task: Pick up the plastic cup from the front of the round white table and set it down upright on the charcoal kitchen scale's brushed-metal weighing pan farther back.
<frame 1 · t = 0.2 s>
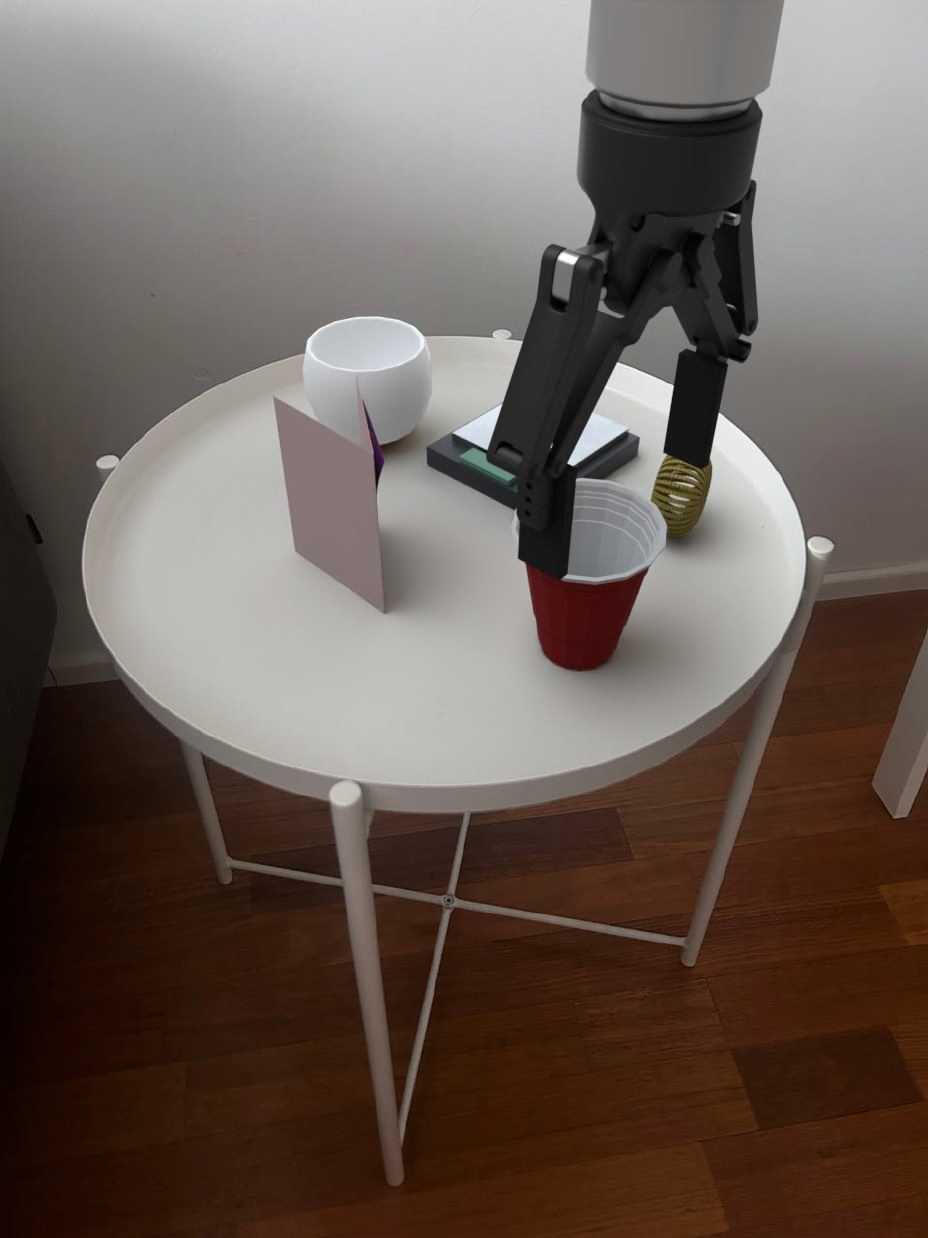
hand: (618, 509, 56), 21 cm above the table, tool pointing down, fingers open, 13 cm apart
plastic cup: (576, 648, 78), on the table
sculpture: (674, 530, 89), on the table
cup: (372, 433, 101), on the table
greeting card: (342, 574, 85), on the table
scale: (532, 459, 97), on the table
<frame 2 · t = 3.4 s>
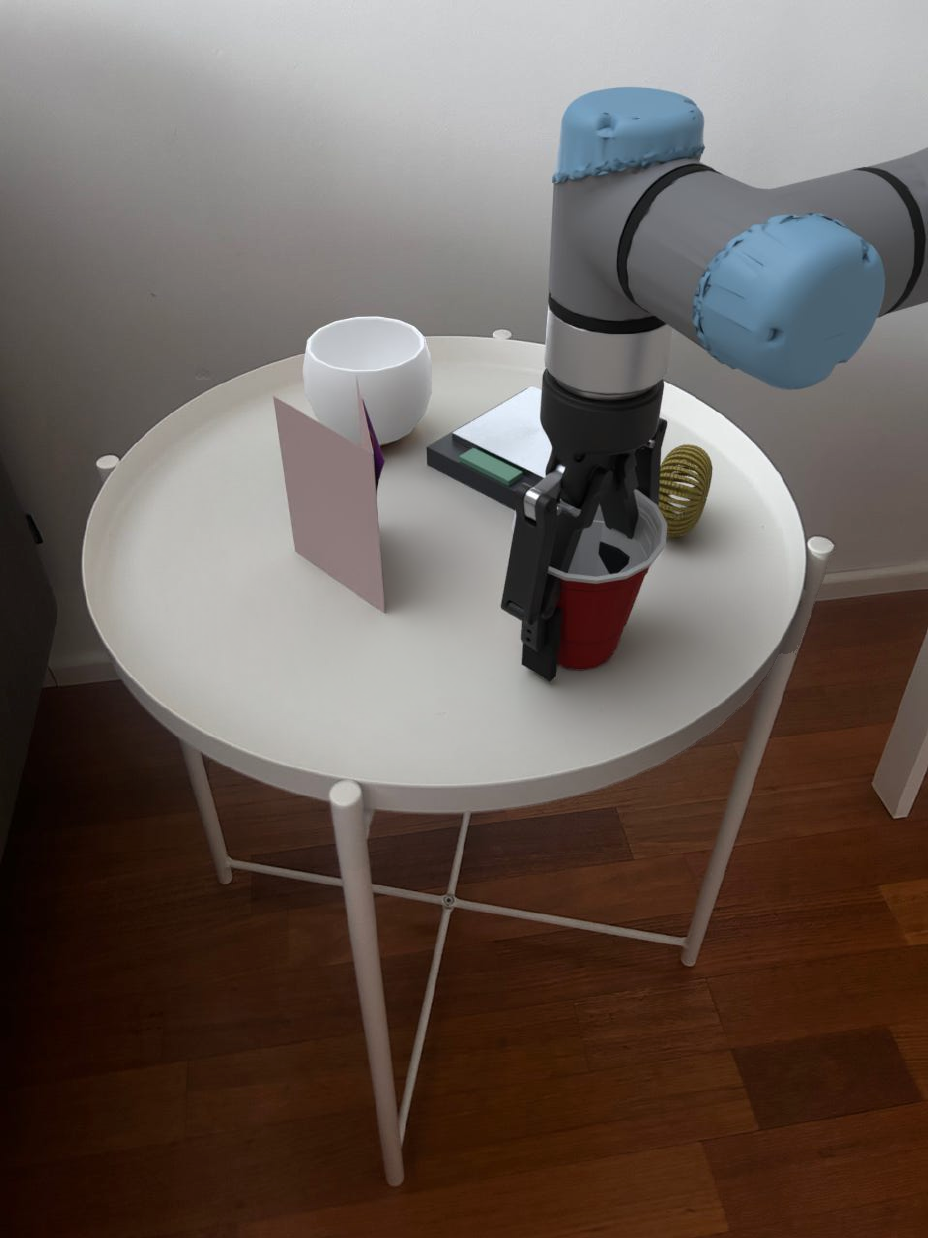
hand: (574, 640, 77), 1 cm above the table, tool pointing down, fingers closed on plastic cup, 8 cm apart
plastic cup: (576, 648, 78), on the table, touching gripper
everything else where it was.
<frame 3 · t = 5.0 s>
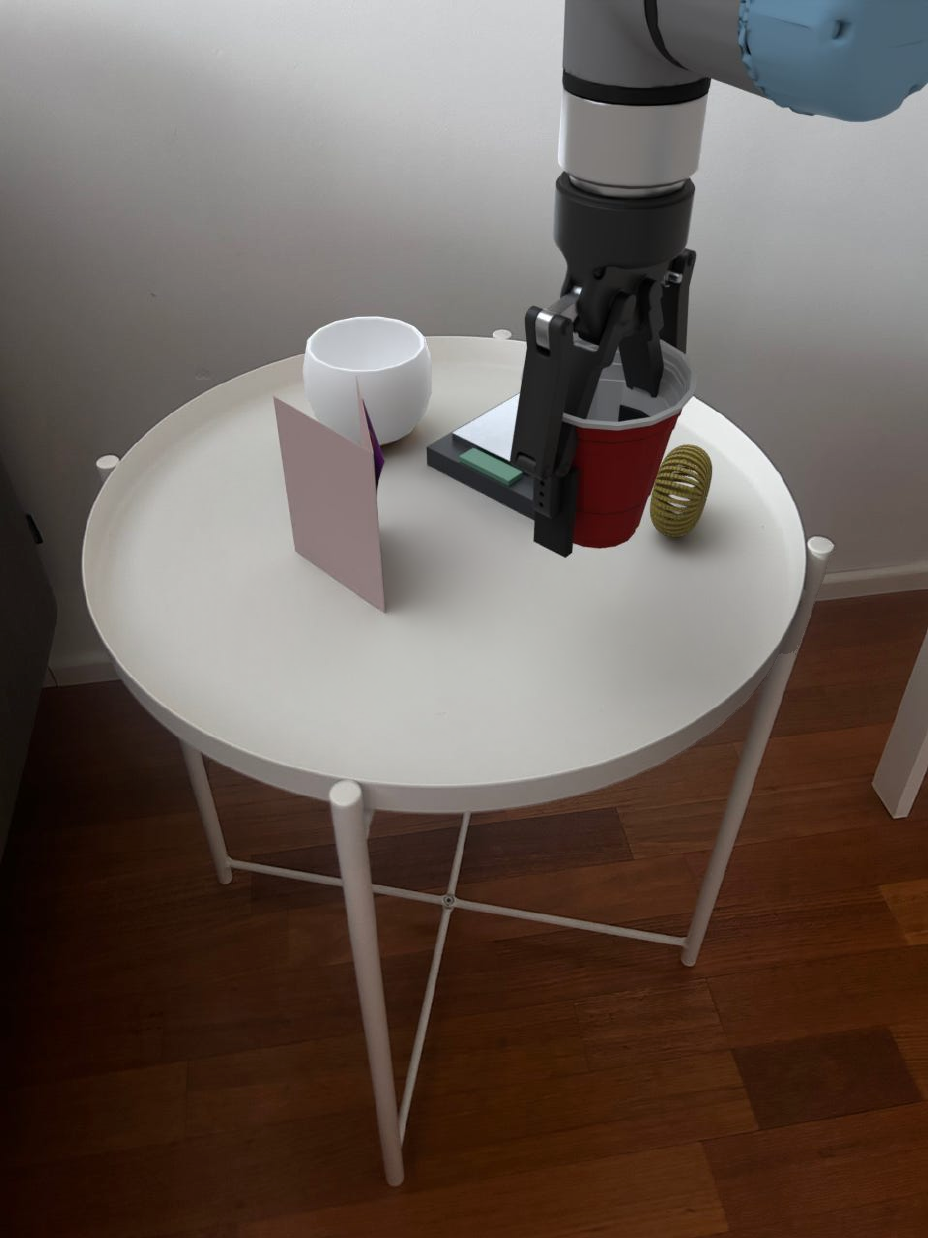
hand: (592, 517, 69), 13 cm above the table, tool pointing down, fingers closed on plastic cup, 8 cm apart
plastic cup: (594, 528, 70), point 11 cm above the table, touching gripper
everything else where it was.
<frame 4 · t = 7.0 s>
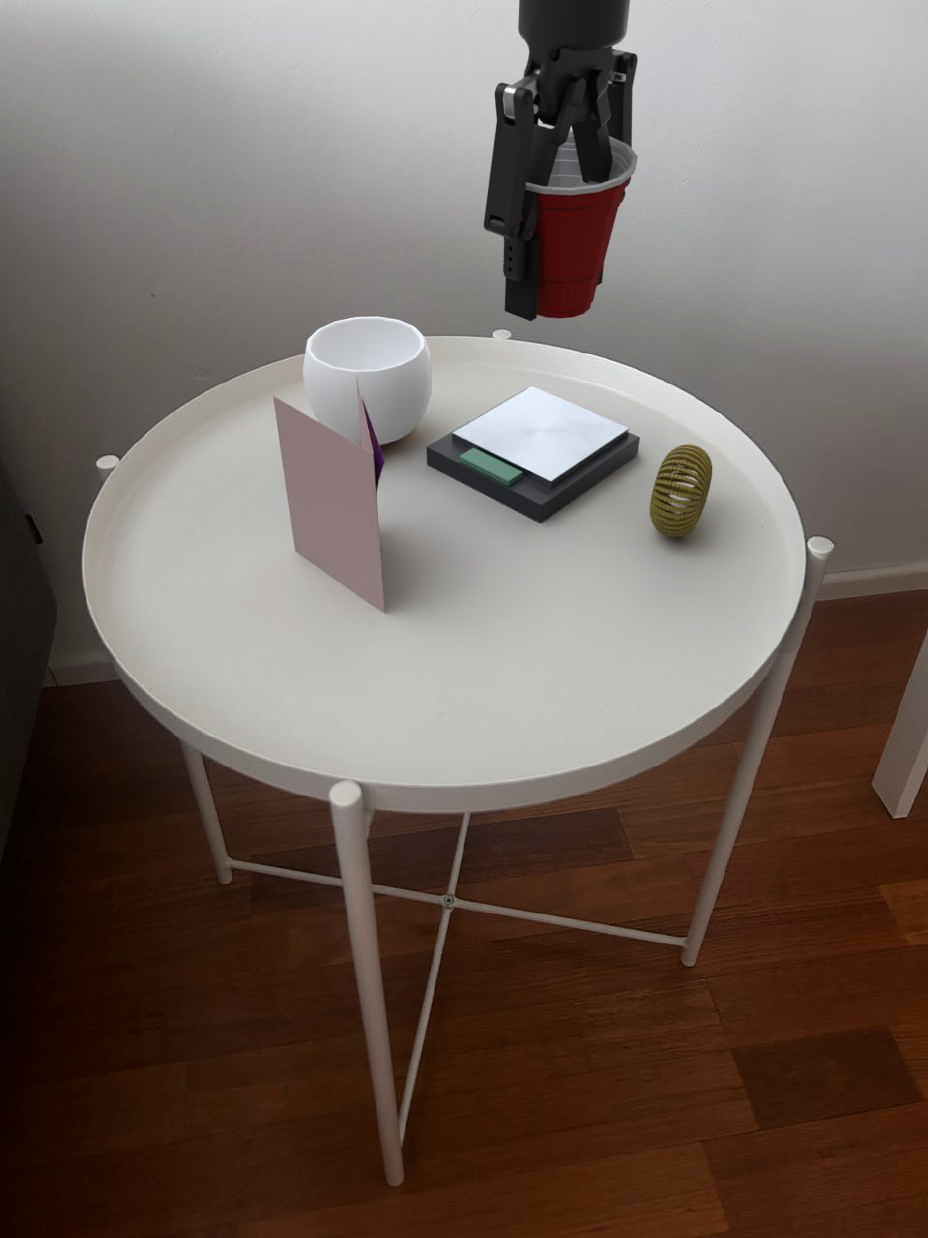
hand: (554, 296, 83), 18 cm above the table, tool pointing down, fingers closed on plastic cup, 8 cm apart
plastic cup: (555, 307, 84), point 17 cm above the table, touching gripper
everything else where it was.
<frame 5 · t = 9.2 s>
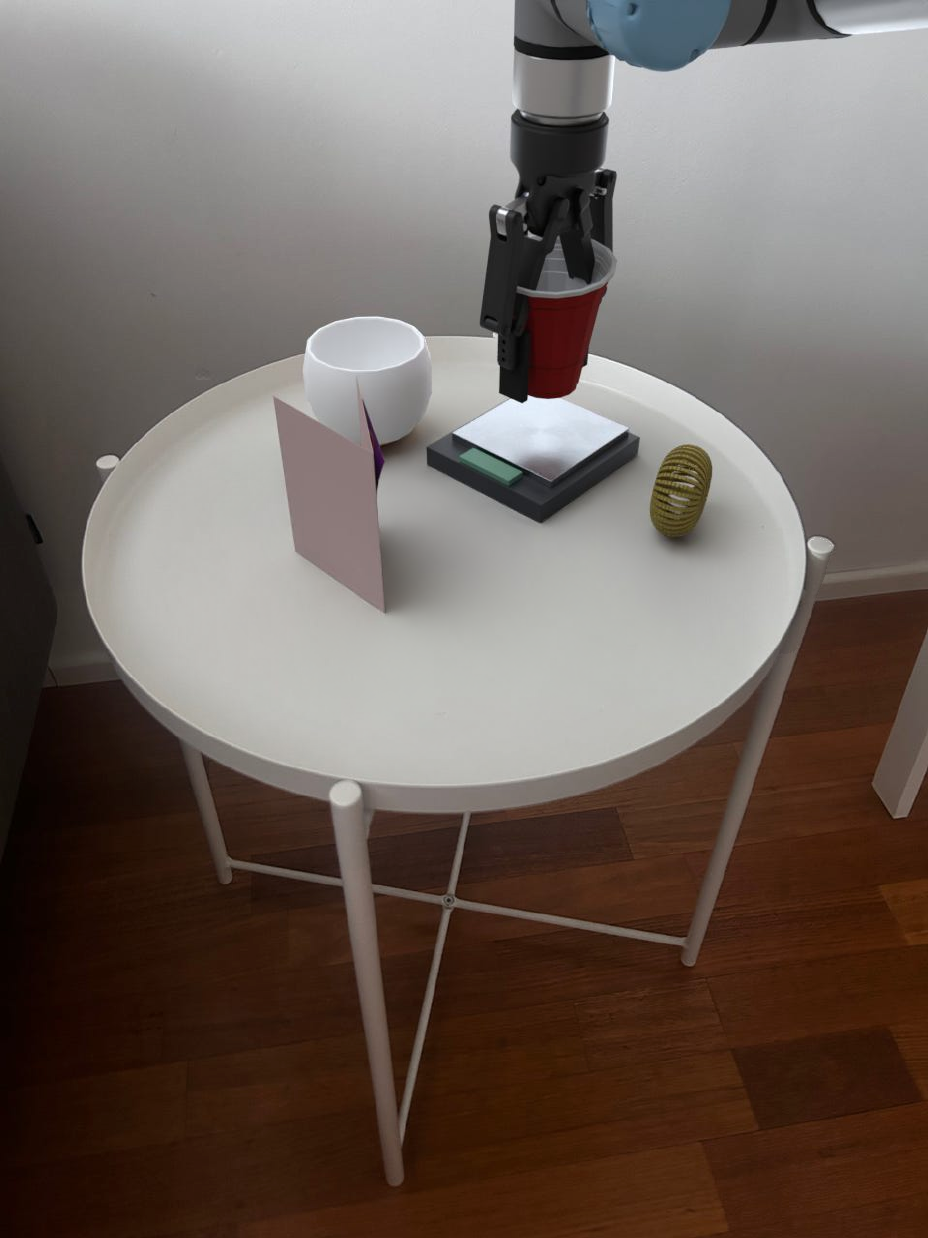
hand: (544, 378, 92), 8 cm above the table, tool pointing down, fingers closed on plastic cup, 8 cm apart
plastic cup: (545, 387, 93), point 7 cm above the table, touching gripper
everything else where it was.
when the fingers open (4 cm above the table, at t = 10.9 s): plastic cup stays where it is, resting on scale.
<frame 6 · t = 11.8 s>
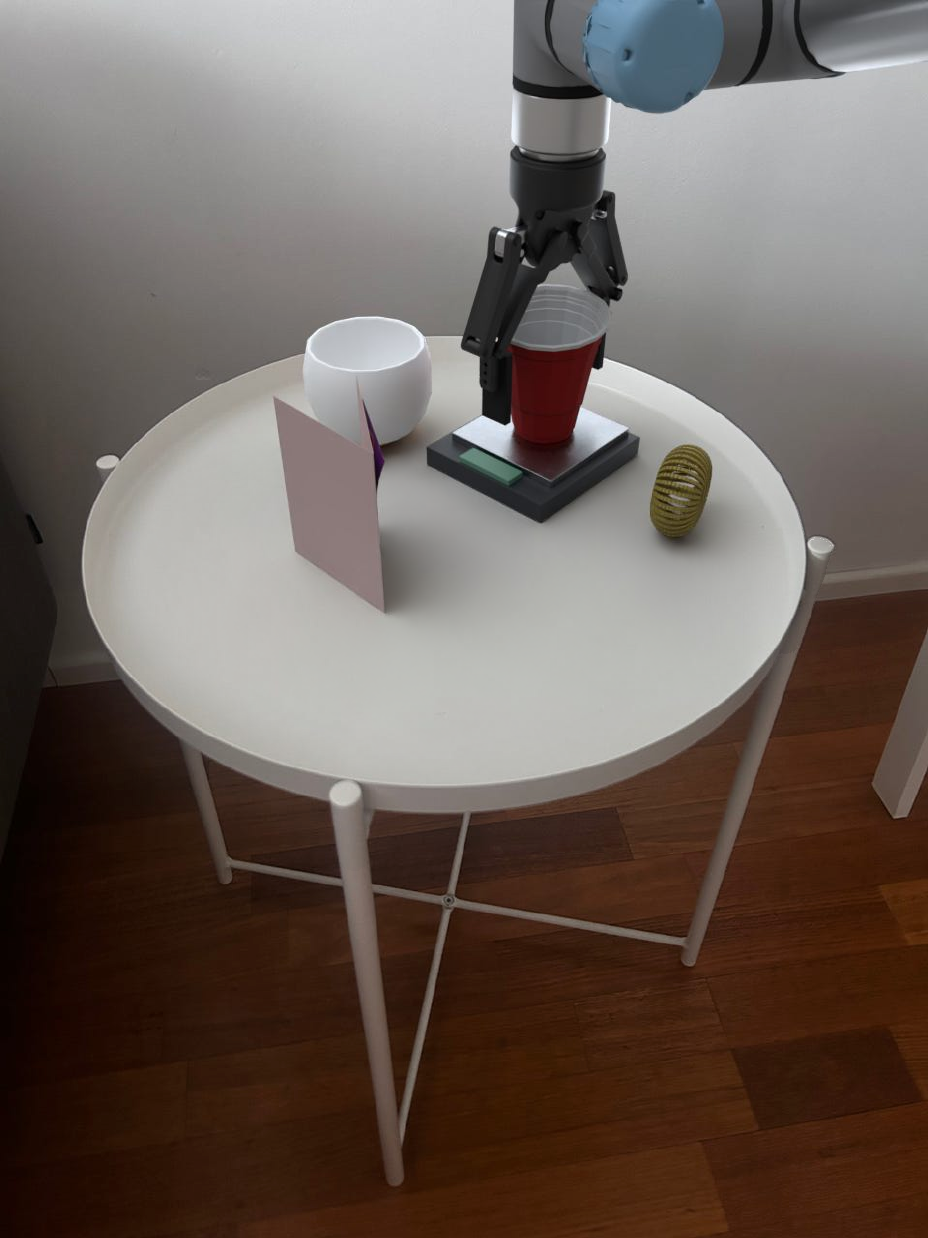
hand: (544, 390, 93), 7 cm above the table, tool pointing down, fingers open, 13 cm apart
plastic cup: (542, 431, 96), point 3 cm above the table, touching scale
everything else where it was.
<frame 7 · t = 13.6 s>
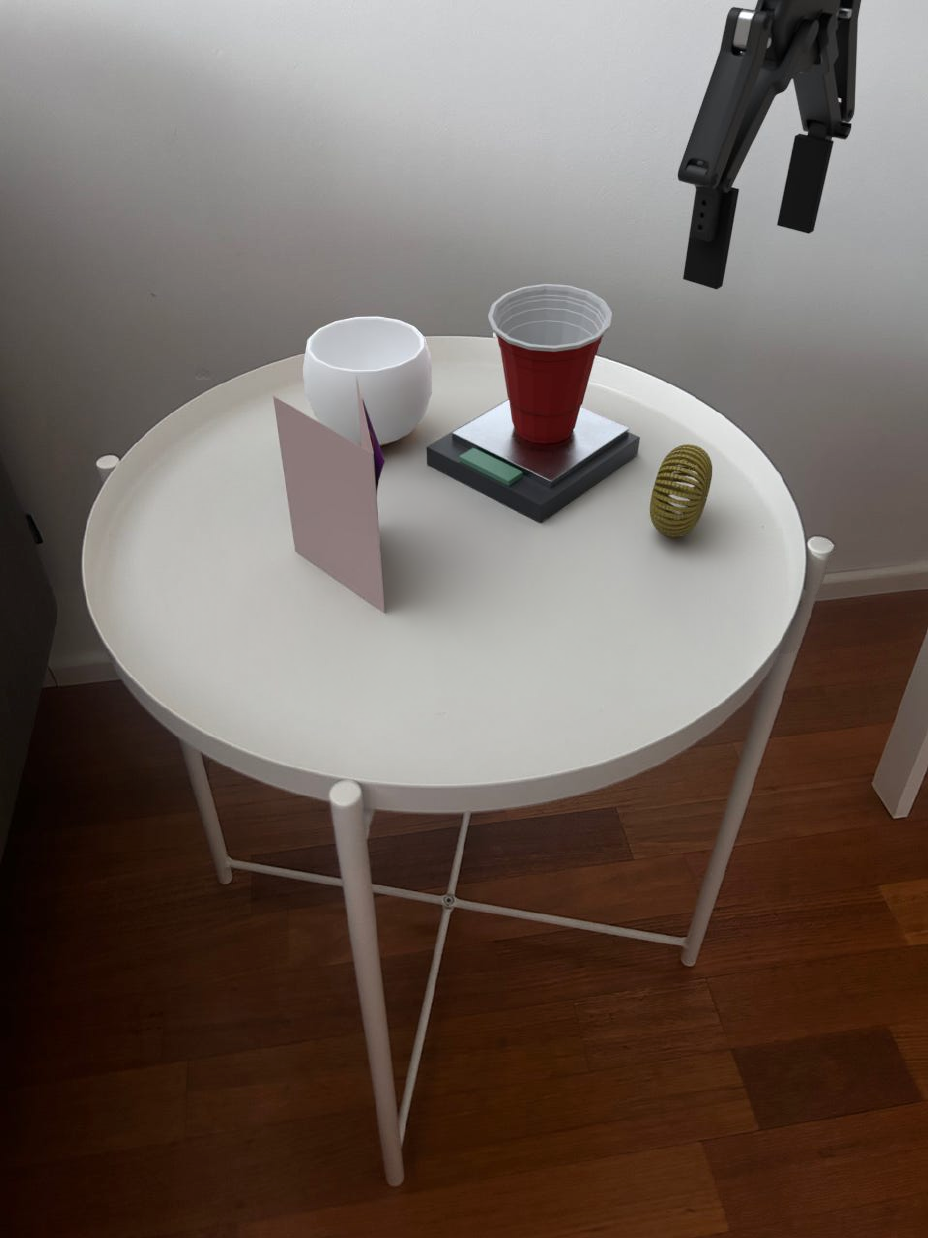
hand: (751, 254, 74), 24 cm above the table, tool pointing down, fingers open, 13 cm apart
nothing on the table moved.
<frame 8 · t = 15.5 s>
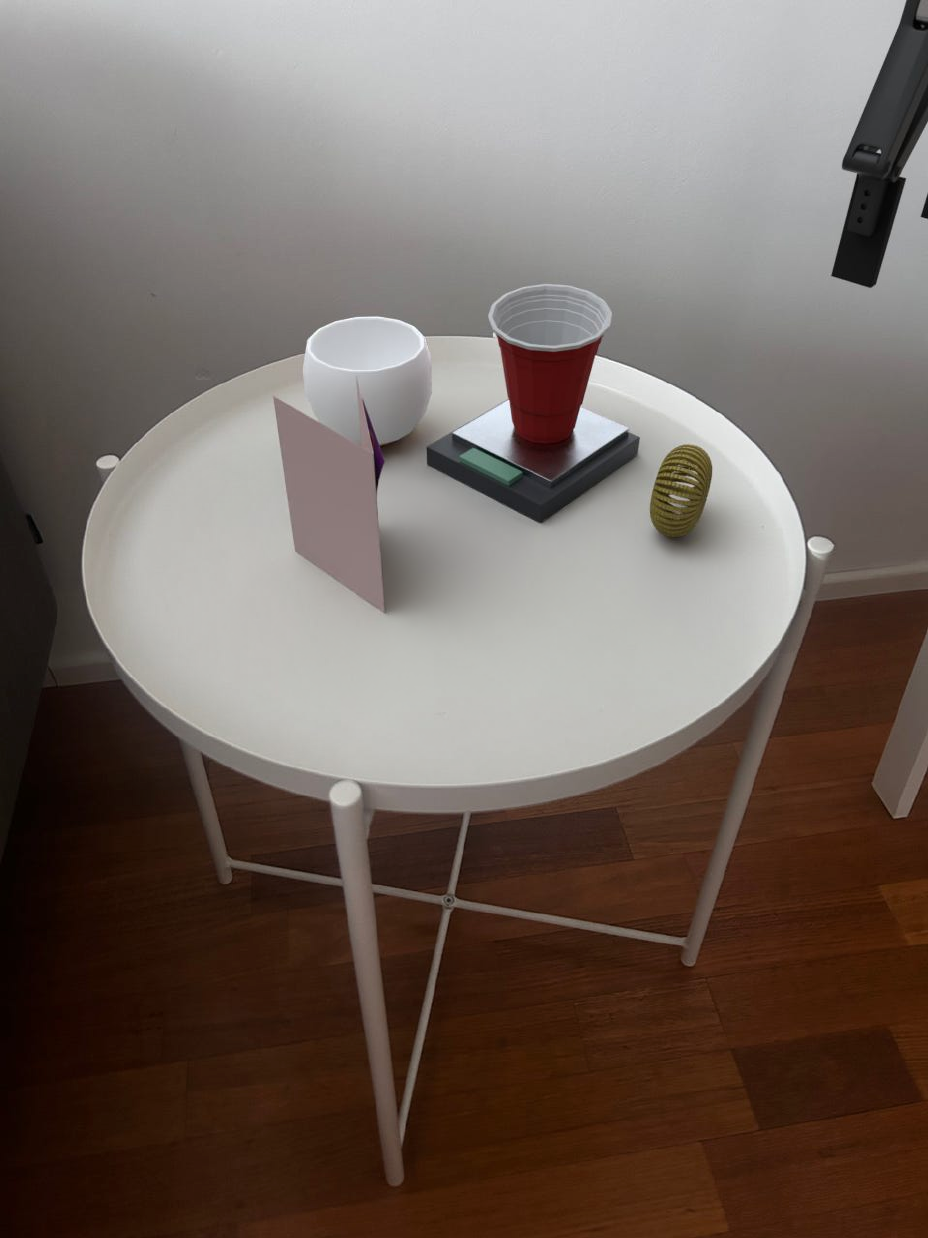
hand: (899, 249, 68), 27 cm above the table, tool pointing down, fingers open, 13 cm apart
nothing on the table moved.
at the end: plastic cup inside the target area on the scale (0.3 cm from its centre), point 2.6 cm above the scale's base; plastic cup tilted 0°; the gripper is holding nothing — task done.
